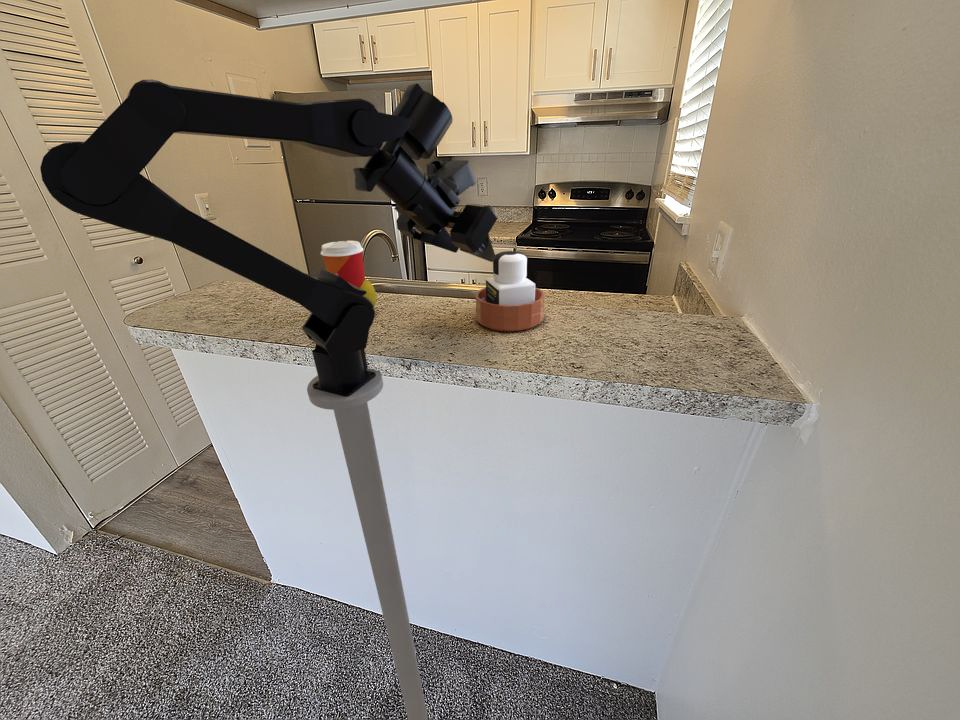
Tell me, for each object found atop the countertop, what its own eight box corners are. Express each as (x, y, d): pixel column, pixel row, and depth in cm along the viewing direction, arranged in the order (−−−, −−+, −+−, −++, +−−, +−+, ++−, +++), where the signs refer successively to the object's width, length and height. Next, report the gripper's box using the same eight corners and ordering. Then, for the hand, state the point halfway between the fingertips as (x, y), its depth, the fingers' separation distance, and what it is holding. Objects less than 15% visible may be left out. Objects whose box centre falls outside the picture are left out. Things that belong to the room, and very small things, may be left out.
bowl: (531, 337, 69) (532, 309, 67) (465, 327, 74) (464, 301, 72) (550, 312, 79) (552, 287, 77) (492, 304, 84) (491, 281, 82)
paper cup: (334, 311, 83) (319, 242, 76) (372, 306, 85) (361, 238, 78) (334, 325, 76) (317, 250, 70) (375, 319, 78) (363, 246, 72)
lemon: (375, 320, 78) (368, 280, 75) (346, 320, 79) (339, 280, 75) (381, 310, 83) (376, 272, 80) (355, 310, 83) (348, 272, 80)
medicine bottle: (485, 313, 79) (484, 251, 73) (519, 308, 80) (520, 247, 75) (498, 326, 73) (497, 259, 67) (534, 320, 74) (537, 255, 69)
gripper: (484, 135, 49) (542, 219, 60) (403, 140, 61) (464, 208, 73) (437, 212, 48) (504, 282, 59) (365, 201, 61) (432, 260, 72)
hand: (474, 254), depth 66 cm, fingers open, 9 cm apart
